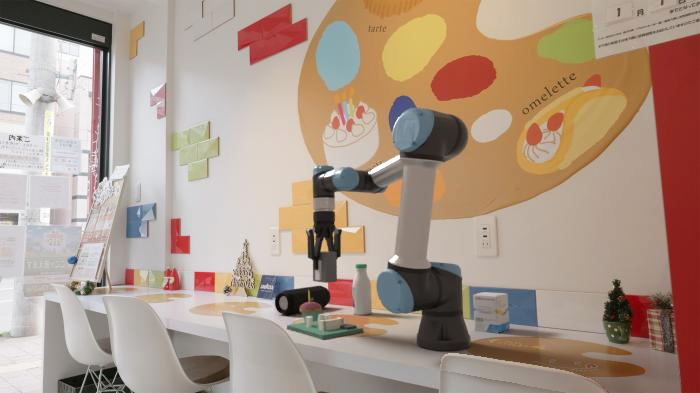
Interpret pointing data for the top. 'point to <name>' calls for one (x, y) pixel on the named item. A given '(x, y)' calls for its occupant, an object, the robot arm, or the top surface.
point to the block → (327, 267)
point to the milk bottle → (361, 291)
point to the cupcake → (310, 309)
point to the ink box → (491, 311)
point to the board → (325, 327)
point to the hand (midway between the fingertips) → (324, 279)
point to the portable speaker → (300, 299)
